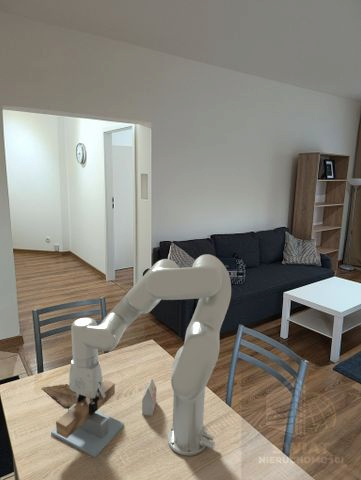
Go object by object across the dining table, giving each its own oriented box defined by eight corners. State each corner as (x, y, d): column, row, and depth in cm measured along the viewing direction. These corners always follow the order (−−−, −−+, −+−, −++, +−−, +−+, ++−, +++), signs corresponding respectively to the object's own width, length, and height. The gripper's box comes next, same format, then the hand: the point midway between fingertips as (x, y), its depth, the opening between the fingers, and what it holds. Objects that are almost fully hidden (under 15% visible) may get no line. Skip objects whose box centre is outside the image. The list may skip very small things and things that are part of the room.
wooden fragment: (107, 398, 121) (107, 396, 121) (87, 418, 111) (87, 415, 111) (55, 379, 132) (55, 376, 131) (33, 395, 122) (33, 393, 122)
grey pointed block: (142, 414, 114) (142, 389, 111) (146, 401, 120) (146, 376, 118) (152, 415, 113) (152, 390, 111) (156, 402, 120) (156, 377, 118)
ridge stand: (123, 425, 108) (123, 409, 107) (95, 457, 96) (94, 440, 95) (82, 407, 116) (82, 392, 115) (51, 434, 104) (50, 418, 103)
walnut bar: (66, 438, 94) (66, 426, 93) (56, 433, 96) (56, 421, 95) (114, 393, 114) (114, 383, 113) (105, 390, 115) (105, 380, 114)
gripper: (56, 356, 101) (59, 408, 105) (98, 372, 94) (100, 427, 98) (74, 345, 108) (76, 394, 111) (115, 359, 100) (116, 411, 104)
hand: (87, 409), depth 104 cm, fingers closed on walnut bar, 4 cm apart
